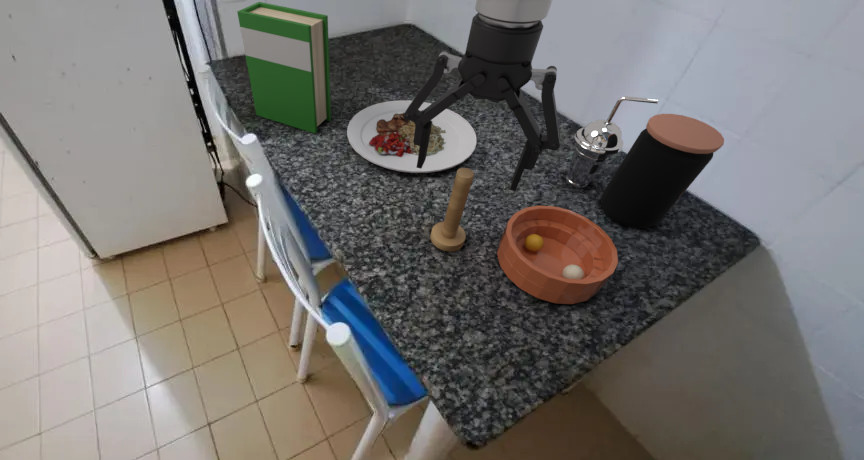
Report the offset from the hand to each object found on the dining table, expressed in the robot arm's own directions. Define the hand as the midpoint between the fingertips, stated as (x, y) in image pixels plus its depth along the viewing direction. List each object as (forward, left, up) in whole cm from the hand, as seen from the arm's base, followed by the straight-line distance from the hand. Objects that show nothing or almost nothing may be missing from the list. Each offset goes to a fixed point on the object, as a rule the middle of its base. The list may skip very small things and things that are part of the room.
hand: (465, 173), depth 58 cm
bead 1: (+4, -14, -14) cm, 20 cm away
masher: (+2, 0, -16) cm, 16 cm away
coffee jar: (+22, -31, -16) cm, 41 cm away
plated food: (+30, +15, -16) cm, 38 cm away
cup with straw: (+28, -22, -16) cm, 39 cm away
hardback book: (+28, +45, -16) cm, 56 cm away
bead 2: (0, -20, -14) cm, 25 cm away
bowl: (+2, -17, -16) cm, 23 cm away
